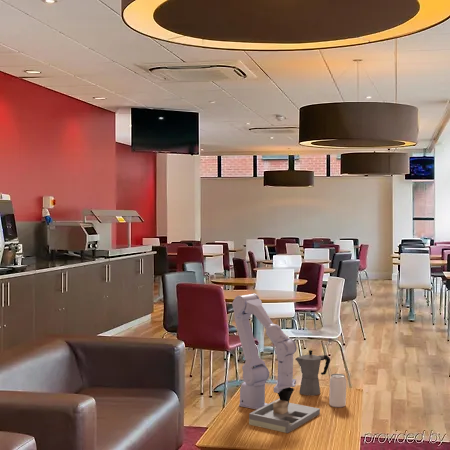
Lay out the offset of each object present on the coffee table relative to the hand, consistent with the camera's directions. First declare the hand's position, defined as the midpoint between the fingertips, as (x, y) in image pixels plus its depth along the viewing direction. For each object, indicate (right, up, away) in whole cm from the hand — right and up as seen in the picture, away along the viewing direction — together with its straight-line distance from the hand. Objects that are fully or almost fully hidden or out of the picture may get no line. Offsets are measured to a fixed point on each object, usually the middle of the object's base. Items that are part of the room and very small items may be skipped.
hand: (284, 407), depth 281 cm
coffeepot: (+14, -2, +30) cm, 33 cm away
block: (-2, -1, -3) cm, 3 cm away
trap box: (0, -3, -5) cm, 6 cm away
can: (+22, -3, +13) cm, 26 cm away
